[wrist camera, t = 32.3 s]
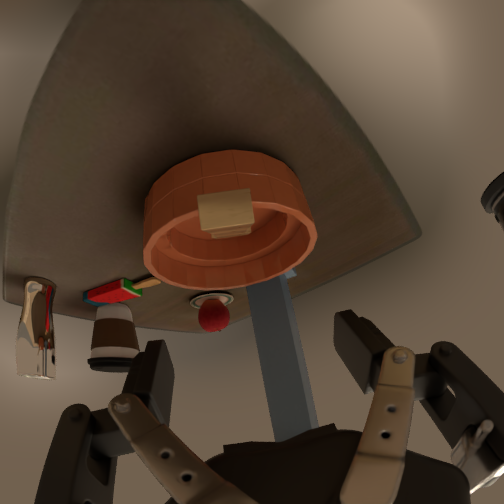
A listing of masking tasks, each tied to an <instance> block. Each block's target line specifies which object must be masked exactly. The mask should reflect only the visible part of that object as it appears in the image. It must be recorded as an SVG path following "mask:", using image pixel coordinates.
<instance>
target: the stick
mask: <svg viewBox="0 0 504 504" xmlns="http://www.w3.org/2000/svg"><path fill="white" fill-rule="evenodd" d="M197 202H198V211H199V219H200V226H201V230H202V231H205V232H207V233H210V234H211V237H212V238H214V239H220V238H227V237H235V236H242V235H248V234H250V233H251V226H252V225H253V224H254V222H255V221H254V214H253V207H252V199H251V192H250V188H244V189H236V190H229V191H222V192H215V193H208V194H201V195H197Z"/></svg>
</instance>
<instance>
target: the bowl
mask: <svg viewBox="0 0 504 504" xmlns="http://www.w3.org/2000/svg"><path fill="white" fill-rule="evenodd" d="M244 188H250V192H251V199H252V207H253V214H254V221H255V222H254V224H253V225H252V226H251V233H250V234H248V235H242V236H235V237H227V238H220V239H214V238H212V237H211V234H210V233H207V232H205V231H202V230H201V226H200V219H199V211H198V202H197V195H201V194H208V193H215V192H222V191H229V190H236V189H244ZM316 240H317V232H316V228H315V224H314V221H313V218H312V215H311V212H310V209H309V207H308V204H307V201H306V198H305V195H304V192H303V190H302V187H301V184H300V181H299V179H298V177H297V175H296V174H295V173H294V172H293V171H292V170H291V169H290V168H289V167H288V166H287V165H286V164H285V163H284V162H282V161H279V160H277V159H275V158H273V157H270V156H268V155H266V154H263V153H260V152H252V151H243V150H233V149H232V150H224V151H217V152H210V153H204V154H200V155H197V156H195V157H193V158H190V159H188V160H186V161H184V162H181V163H179V164H177V165H175V166H173V167H172V168H170V169H169V170H168V171H167V172H166V173H165V174H163V175H162V176H161V177H160V178H159V179H158V180H157V181H155V183H154V184H153V186H152V187H151V189H150V191H149V193H148V195H147V197H146V199H145V209H144V232H143V257H144V265H145V266H146V267H147V269H148V270H149V271H150V273H151V274H152V275H153V276H155V277H156V278H158V279H160V280H162V281H164V282H165V283H167V284H170V285H174V286H178V287H181V288H187V289H197V290H226V289H232V288H239V287H245V286H249V285H253V284H256V283H260V282H263V281H267V280H269V279H272V278H274V277H276V276H279V275H281V274H283V273H285V272H287V271H289V270H290V269H292V268H293V267H295V266H296V265H298V264H299V263H301V262H302V261H303V260H304V259H305V258H306V257H307V256H308V255H309V254H310V252H311V251H312V250H313V248H314V245H315V242H316Z"/></svg>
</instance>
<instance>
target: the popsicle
mask: <svg viewBox="0 0 504 504" xmlns="http://www.w3.org/2000/svg"><path fill="white" fill-rule="evenodd" d="M160 283H161V280H160V279H158V278H156V277H152V278H148V279H145V280H142V281H140V282H138V283H133V282H131V281H129V280H127V279H126V278H123V279H120V280H118V281H115V282H112V283H109V284H106V285H104V286H101V287H98V288H95V289H93V290H90V291H87V292H84V293H83V301H84V302H87V303H89V304H91V305H94V306H96V307H99V306H103V305H107V304H111V303H115V302H119V301H123V300H127V299H131V298H135V297H139V296H142V288H143V287H149V286H153V285H157V284H160Z"/></svg>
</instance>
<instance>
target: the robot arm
mask: <svg viewBox="0 0 504 504" xmlns="http://www.w3.org/2000/svg"><path fill="white" fill-rule="evenodd" d="M491 209H492V211H493V213H494V214H495V216H496V217H495V218H496V220H497V222H498V223H499V224H500V226H501V228H502V230H503V231H504V189H503V190H502V191H501V192H500V193H499V194H498V195H497V196H496V197H495V198H494V200H493V201H492V203H491ZM334 346H335V349H336V351H337V353H338V355H339V356H340V357H341V359H342V361H343V362H344V364H345V365H346V367H347V368H348V370H349V371H350V373H351V374H352V376H353V377H354V379H355V380H356V382H357V383H358V385H359V386H360V388H361V389H362V391H363V393H364V394H368V393H371V392H374V397H373V401H372V404H371V408H370V411H369V414H368V418H367V421H366V424H365V427H364V431H363V432H360V431H355V430H337V428H336V426H335V424H334V423H332V424H329V425H325V426H322V427H318V428H314V429H310V430H307V431H305V432H303V433H301V434H298V435H296V436H294V437H292V438H290V439H287V440H285V441H282V442H253V441H251V442H244V443H237V444H229V445H223V448H224V453H221V454H218V455H216V456H214V457H212V458H210V459H208V460H207V461H205V462H203V461H202V460H201V459H200V458H199V457H198V456H197V455H196V454H195V453H194V452H192V451H191V450H190V449H189V448H188V447H187V446H186V445H185V444H184V443H183V442H182V441H181V440H180V439H179V438H178V437H177V436H176V435H175V434H174V433H173V432H172V431H171V429H170V428H169V421H170V412H171V402H172V393H173V385H174V368H173V364H172V361H171V359H170V355H169V352H168V349H167V346H166V343H165V341H164V340H154V341H148V342H147V345H146V349H145V352H139V353H138V354H137V355H136V356H135V357H134V358H133V360H132V363H131V366H130V369H129V372H128V375H127V378H126V381H125V384H124V387H123V390H122V393H121V394H120V395H117V396H116V397H114V398H113V399H112V400H111V401H110V403H109V404H108V408H105V409H101V410H97V411H92V412H91V411H90V410H89V408H88V407H87V406H86V405H84V404H74V405H71V406H69V407H67V408H66V409H65V410H64V411H63V413H62V415H61V418H60V420H59V423H58V426H57V428H56V431H55V434H54V437H53V440H52V443H51V446H50V449H49V452H48V455H47V458H46V461H45V465H44V469H43V472H42V475H41V479H40V482H39V486H38V490H37V494H36V499H35V503H34V504H113V492H114V483H115V474H116V466H117V457H118V456H120V455H125V454H129V453H133V452H136V453H137V455H138V456H139V457H140V459H141V460H142V461H143V463H144V464H145V465H146V467H147V468H148V469H149V470H150V472H151V473H152V474H153V475H154V477H155V478H156V479H157V480H158V482H159V483H160V484H161V485H162V486H163V487H164V489H165V490H166V491H167V492H168V493H169V494H170V495H171V498H170V499H169V500H168V501H167V502H166V503H165V504H471V502H470V494H471V493H472V492H474V491H475V490H477V489H478V488H479V487H488V486H490V485H492V484H493V483H494V482H495V481H496V480H497V479H498V478H499V477H500V476H501V475H502V474H503V473H504V393H503V392H502V391H501V390H500V389H499V388H498V387H497V386H496V384H494V383H493V381H492V380H491V379H490V378H489V377H488V376H487V375H486V374H484V372H483V371H482V370H481V369H480V368H478V367H477V365H476V364H474V363H473V362H472V361H471V360H470V359H469V358H468V357H467V356H466V355H465V354H464V353H463V352H462V351H461V350H460V349H459V348H458V347H457V346H456V345H454V344H453V343H450V342H446V341H441V342H437V343H435V344H433V345H432V347H431V351H430V353H424V354H416V355H415V354H414V353H413V351H412V350H410V349H408V348H406V347H401V346H397V347H396V346H395V345H394V344H393V343H391V341H390V340H389V339H388V338H387V337H386V336H385V335H384V334H383V333H382V332H381V331H380V330H379V329H378V328H376V326H375V325H374V324H373V323H372V322H371V321H370V320H368V319H366V318H364V317H358V316H357V315H356V314H355V313H354V312H353V311H352V310H351V309H350V310H345V311H341V312H337V313H335V316H334ZM447 385H449V386H450V387H451V388H452V390H453V391H454V393H455V396H456V398H455V397H454V395H453V394H452V393H451V392H450V391H449V389H448V388H447ZM415 400H419V401H420V403H421V404H422V406H423V407H424V408H425V410H426V411H427V413H428V414H429V416H430V417H431V418H432V420H433V421H434V423H435V424H436V425H437V427H438V429H439V430H440V431H441V433H442V434H443V436H444V437H445V439H446V440H447V442H448V443H449V445H450V446H451V448H452V449H453V450H452V453H451V460H452V463H453V464H450V463H447V462H443V461H440V460H437V459H433V458H430V457H427V456H424V455H421V454H418V453H415V452H413V451H410V450H407V449H406V448H407V443H408V438H409V432H410V426H411V420H412V413H413V405H414V401H415Z"/></svg>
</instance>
